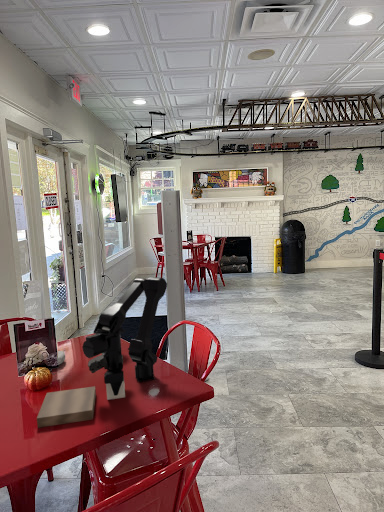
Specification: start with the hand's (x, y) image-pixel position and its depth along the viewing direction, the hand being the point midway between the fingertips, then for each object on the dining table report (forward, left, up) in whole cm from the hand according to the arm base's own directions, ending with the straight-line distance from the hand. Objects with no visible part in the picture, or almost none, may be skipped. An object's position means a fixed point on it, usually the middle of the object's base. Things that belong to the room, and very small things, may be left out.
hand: (115, 390), depth 125 cm
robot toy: (+29, -35, -2) cm, 45 cm away
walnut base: (+15, +6, -1) cm, 16 cm away
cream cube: (0, 0, -1) cm, 1 cm away
